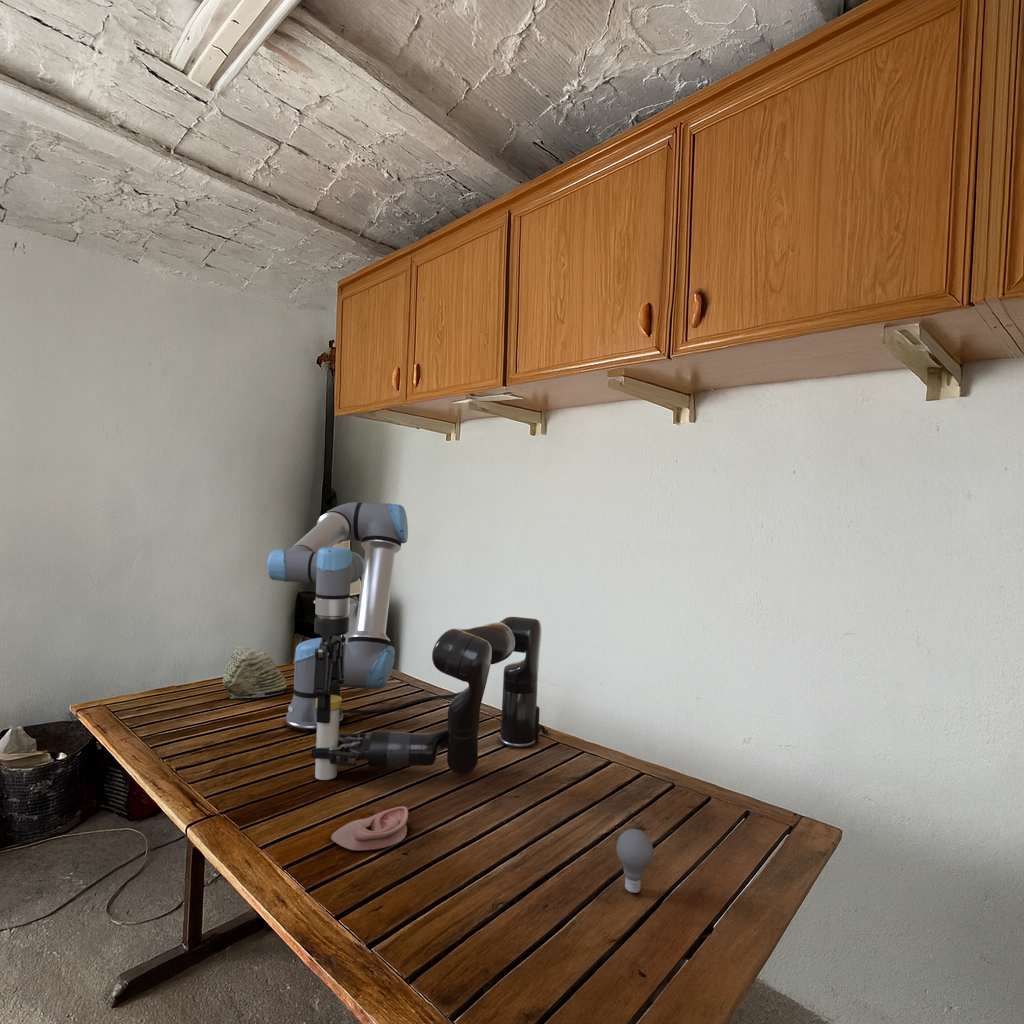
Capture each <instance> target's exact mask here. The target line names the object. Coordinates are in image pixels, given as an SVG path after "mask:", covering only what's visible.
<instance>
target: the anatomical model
mask: <svg viewBox="0 0 1024 1024" xmlns="http://www.w3.org/2000/svg"><path fill="white" fill-rule="evenodd" d="M408 819H409V809H408V808H407V807H406V806H405V805H404V806H402V805H401V806H396V807H393V808H389V809H386V810H382V811H381V812H378V813H376V814H373V815H371V816H369V817H365V818H360V819H356V820H352V821H350V822H348V823H345V824H344V825H343V826H341V827H339V828H337V830H335V831H334V832H333V833H332V834H331V836H330V839H331V841H333V843H336V845H338V846H339V847H342V848H344V849H347V850H350V851H357V852H359V851H371V850H379V849H383V848H388V847H392V846H394V845H396V844H399V843H400V842H402V841H403V840H404V839H405V838H406V836H407V832H408V827H407V822H408Z"/></svg>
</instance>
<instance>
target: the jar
mask: <svg viewBox="0 0 1024 1024" xmlns="http://www.w3.org/2000/svg"><path fill="white" fill-rule="evenodd" d="M339 712H340V708H338V709H335V710H330V722H329V723H317V732H315V748H329V749H330V748H335V747H338V738H339V735H340V725H339ZM314 760H315V762H314V777H315V779H316V780H320V781H328V780H332V779H335V778H336V777H337V776H338V765H335V764H330V760H329V759H314Z"/></svg>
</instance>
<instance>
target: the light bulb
mask: <svg viewBox="0 0 1024 1024" xmlns="http://www.w3.org/2000/svg"><path fill="white" fill-rule="evenodd" d="M615 849H616V854H617V857H618V859H619V861H620V863H621V865H622V867H623V873H624V874H623V875H624V876H625V878H624V888H625V890H627V891H628V892H630V893H634V894H635V893H639V892H640V891H641V889H642V887H641V886H642V879H643V877H644V875H645V871H646V868H647V867H648V866H649V864H650V863H651V861H652V859H653V855H654V847H653V843H652V841H651V838H649V836H648V835H647V834H646V833H645V832H643V831H642V830H641V829H636V828H629V829H627V830H625V831H623V832H622V833H621V834H620V835H619V837H618V839H617V841H616V847H615Z"/></svg>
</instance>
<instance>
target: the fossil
mask: <svg viewBox="0 0 1024 1024" xmlns="http://www.w3.org/2000/svg"><path fill="white" fill-rule="evenodd" d="M222 676H223V677H222V685H223V687H224V688H225V690H226V691H228V693H229V698H230V699H250V698H264V697H271V696H275V695H281V694H284V693H285V691H286V689H287V687H288V686H287V680H286V678H285V676H284V674H283V673H282V672H281V669H279V668H278V667H277V665H276V663H275V662H274V660H273V659H272V658H271V657H270V656H269V655H268V654H267V653H266V652H265V650H264V649H263V648H260V647H258V648H251V647H247V646H246V647H245V646H238V647H237V648H236V649H235V650H233V651H232V653H231V656H230V657H229V659H228V660H227V663H226V666H225V668H224V671H223V675H222Z"/></svg>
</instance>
